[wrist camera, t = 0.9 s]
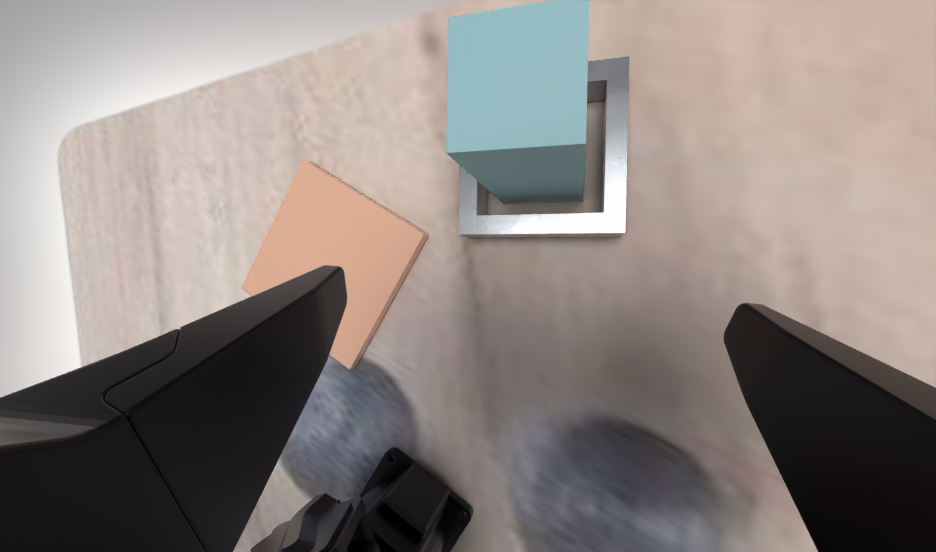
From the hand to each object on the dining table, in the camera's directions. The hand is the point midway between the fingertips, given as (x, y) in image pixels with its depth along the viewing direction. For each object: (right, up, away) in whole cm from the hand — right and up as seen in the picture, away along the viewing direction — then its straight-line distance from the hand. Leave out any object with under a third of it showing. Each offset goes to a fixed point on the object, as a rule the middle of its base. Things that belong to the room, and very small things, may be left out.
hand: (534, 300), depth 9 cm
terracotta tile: (-11, +1, +17) cm, 20 cm away
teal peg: (+3, +7, +14) cm, 16 cm away
